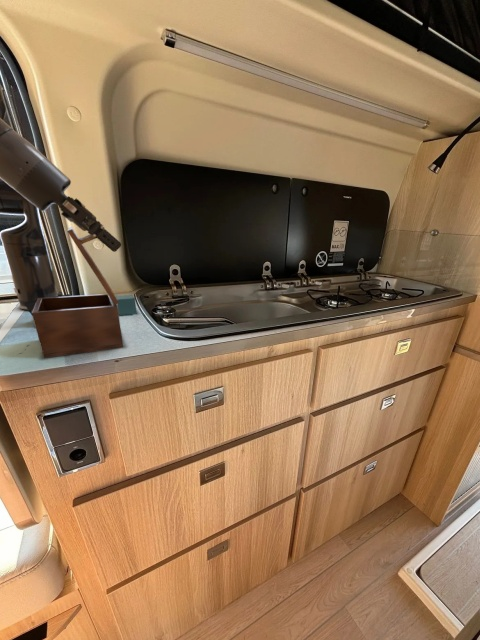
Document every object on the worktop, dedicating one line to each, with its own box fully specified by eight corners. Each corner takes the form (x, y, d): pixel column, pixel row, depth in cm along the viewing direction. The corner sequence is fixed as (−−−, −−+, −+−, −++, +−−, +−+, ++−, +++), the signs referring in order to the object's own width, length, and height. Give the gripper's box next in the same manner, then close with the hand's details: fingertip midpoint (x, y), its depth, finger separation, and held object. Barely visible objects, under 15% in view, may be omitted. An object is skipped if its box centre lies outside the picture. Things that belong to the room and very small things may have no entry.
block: (117, 311, 84) (115, 295, 82) (134, 309, 86) (132, 294, 84) (119, 315, 80) (116, 299, 78) (136, 313, 82) (134, 298, 80)
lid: (67, 231, 49) (98, 219, 51) (67, 228, 58) (94, 218, 60) (114, 304, 57) (140, 292, 59) (109, 292, 66) (131, 282, 68)
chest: (44, 358, 54) (31, 313, 51) (48, 337, 63) (37, 298, 60) (123, 347, 61) (117, 306, 57) (116, 329, 70) (111, 293, 66)
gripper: (41, 149, 43) (134, 235, 53) (47, 162, 54) (123, 231, 64) (5, 185, 42) (106, 265, 53) (19, 191, 54) (100, 256, 64)
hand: (115, 246), depth 58 cm, fingers open, 8 cm apart
